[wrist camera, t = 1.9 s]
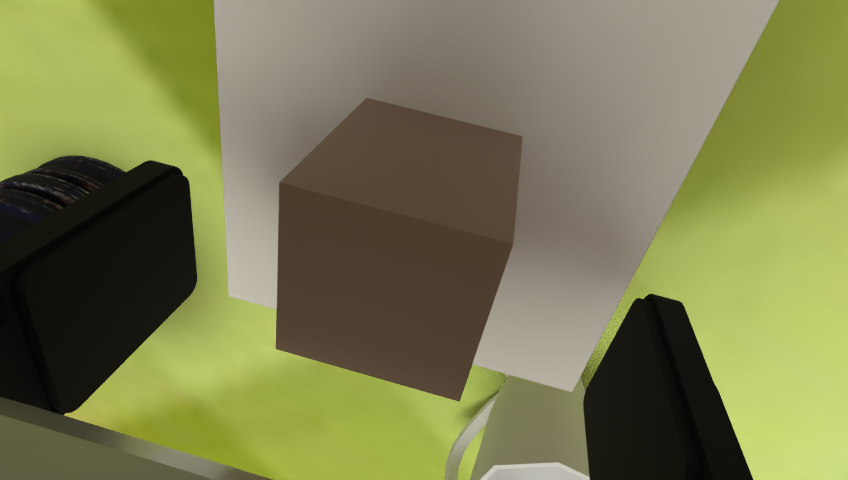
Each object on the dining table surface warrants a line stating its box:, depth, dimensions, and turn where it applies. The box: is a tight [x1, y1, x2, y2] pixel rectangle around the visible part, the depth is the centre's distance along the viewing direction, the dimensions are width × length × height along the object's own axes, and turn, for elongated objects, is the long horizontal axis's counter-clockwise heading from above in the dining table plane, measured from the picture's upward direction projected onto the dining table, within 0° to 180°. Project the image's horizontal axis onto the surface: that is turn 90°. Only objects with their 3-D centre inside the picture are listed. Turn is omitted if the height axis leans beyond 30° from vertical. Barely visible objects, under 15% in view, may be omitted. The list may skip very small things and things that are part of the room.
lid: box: [214, 0, 779, 401], centre depth 12 cm, size 12×12×6 cm
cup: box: [445, 374, 590, 480], centre depth 26 cm, size 7×10×8 cm
